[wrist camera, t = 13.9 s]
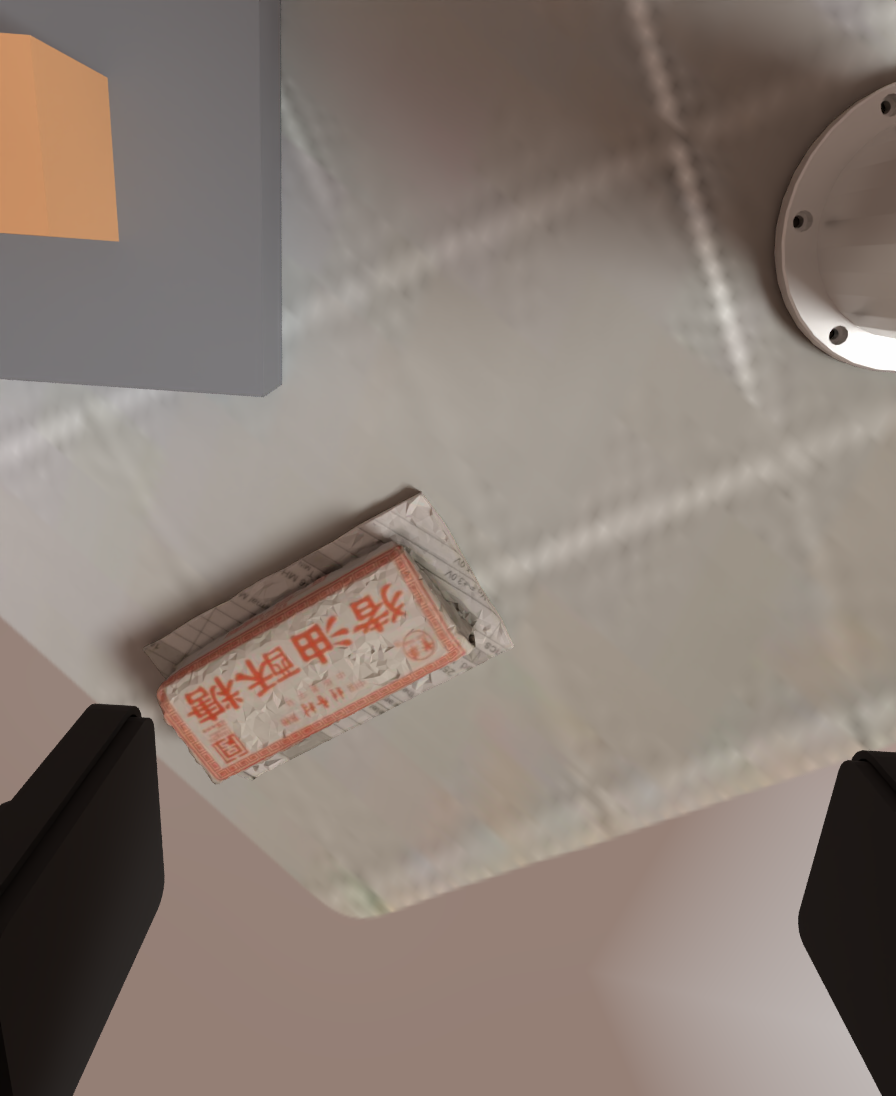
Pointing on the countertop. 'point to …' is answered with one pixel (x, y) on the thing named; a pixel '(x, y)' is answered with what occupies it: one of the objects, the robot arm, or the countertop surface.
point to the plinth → (162, 206)
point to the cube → (54, 144)
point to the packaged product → (326, 644)
